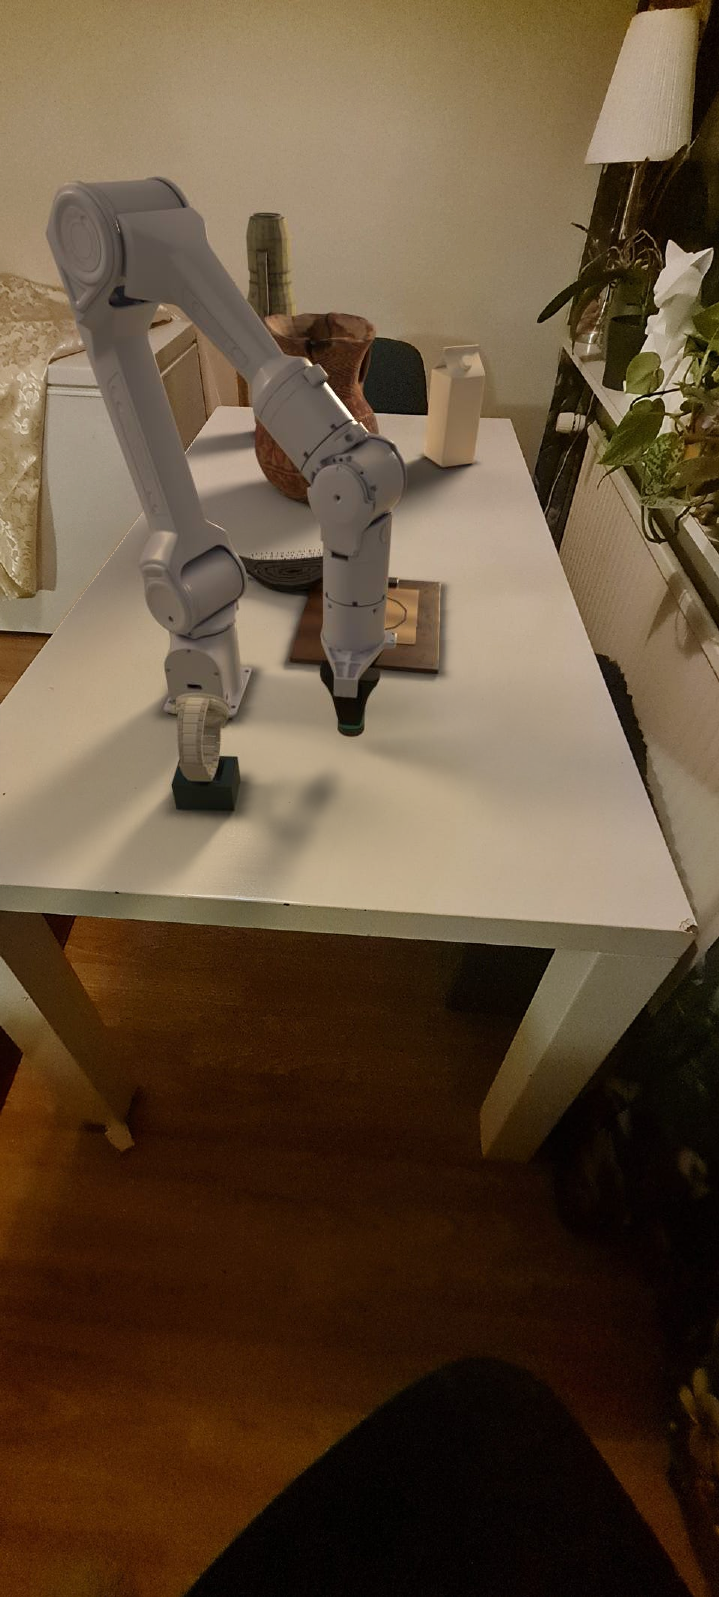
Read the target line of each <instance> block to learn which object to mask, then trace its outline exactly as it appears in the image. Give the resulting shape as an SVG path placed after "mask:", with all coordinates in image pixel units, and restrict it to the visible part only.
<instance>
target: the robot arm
mask: <svg viewBox="0 0 719 1597" xmlns="http://www.w3.org/2000/svg"><path fill="white" fill-rule="evenodd" d="M52 200H53V201H52V204H51V207H50V213H49V217H48V221H47V226H46V229H45V237H46V241H47V243H48V245H49V248H50V251H51V254H52V257H53V260H54V262H55V266H56V268H57V270H58V274H59V277H60V279H61V282H62V285H63V287H64V291H65V293H66V296H67V298H68V301H69V304H70V307H71V309H72V313H73V318H74V321H75V324H76V328H77V331H78V334H79V337H80V339H81V342H82V344H83V347H84V350H85V352H86V355H87V358H88V361H89V364H90V366H91V369H92V372H93V375H94V377H95V381H96V383H97V386H98V389H99V392H100V394H101V398H102V400H103V404H104V405H105V409H106V411H107V414H108V416H109V419H110V423H111V425H112V428H113V430H114V433H115V436H116V438H117V441H118V444H119V447H120V449H121V452H122V455H123V458H124V461H125V463H126V467H127V469H128V472H129V475H130V478H131V480H132V483H133V486H134V488H135V491H136V494H137V497H138V499H139V502H140V505H141V508H142V510H143V513H144V516H145V519H146V521H147V524H148V528H149V530H150V535H149V537H148V538H149V539H148V541H147V543H146V545H145V546H144V549H143V552H142V554H141V556H140V559H139V561H138V567H139V570H140V573H141V576H142V579H143V583H144V584H143V585H144V586H143V589H144V590H143V592H144V593H143V594H144V600H145V602H146V606H147V609H148V610H149V613H150V614H151V616H152V617H153V619H154V620H156V622H157V623H158V624H159V625H160V626H161V627H162V628H164V629H166V630H167V631H168V636H169V646H168V647H169V648H168V651H167V654H166V656H165V659H164V664H163V668H164V674H165V679H166V685H167V690H168V695H169V696H168V698H167V699H166V702H165V704H164V706H163V711H164V713H167V714H168V713H169V714H172V713H171V706H172V705H176V699H177V697H179V696H180V695H183V694H187V693H205V694H211V695H215V696H218V697H220V698H222V699H224V700H226V701H227V702H228V703H229V704H230V711H229V717H228V719H233V718H235V717H236V716H237V714H238V711H239V708H240V706H241V703H242V700H243V697H244V694H245V692H246V688H247V687H248V682H249V681H250V677H251V675H252V672H253V669H252V667H251V666H246V665H245V666H243V665H242V664H241V655H240V644H239V635H238V634H239V633H238V625H237V616H236V614H237V612H238V611H239V610H240V606H239V599H241V598H242V597H243V596H244V595H245V593H246V592H247V588H248V583H249V581H248V574H247V573H246V570H245V567H244V565H243V563H242V561H241V559H240V558H239V557H238V553H237V552H236V551H235V549H234V547H233V545H232V542H231V538H230V536H229V533H228V531H227V530H226V529H224V528H223V527H220V526H219V525H216V524H215V523H212V522H211V521H210V520H208V519H206V515H205V512H204V510H203V505H202V503H201V499H200V497H199V493H198V490H197V487H196V483H195V481H194V477H193V474H192V471H191V467H190V464H189V461H188V458H187V456H186V452H185V449H184V445H183V442H182V439H181V436H180V432H179V429H178V425H177V423H176V420H175V417H174V413H173V411H172V407H171V404H170V401H169V398H168V394H167V392H166V391H167V390H166V388H165V384H164V382H163V378H162V375H161V372H160V368H159V365H158V362H157V359H156V356H155V352H154V349H153V346H152V343H151V340H150V336H149V331H150V328H151V326H152V323H153V321H154V319H155V316H156V314H157V311H158V309H159V306H160V305H161V304H166V305H173V306H176V307H177V308H179V309H180V310H181V312H182V313H183V314H184V315H185V316H186V318H188V319H189V321H191V323H192V324H193V325H194V326H195V327H196V328H197V329H198V330H199V331H200V333H201V334H202V335H203V336H204V337H205V338H206V339H207V340H208V341H209V342H210V343H211V345H212V346H213V347H214V348H215V349H216V350H217V351H218V352H219V353H220V355H222V356H223V358H224V359H225V360H226V361H227V362H228V363H229V364H230V366H232V368H234V370H235V371H236V372H237V373H238V374H239V375H240V376H241V377H242V379H244V381H245V382H246V384H248V385H249V386H250V387H251V392H252V393H251V396H252V397H251V398H252V412H253V416H254V415H255V416H256V417H257V419H258V420H259V421H260V422H261V424H262V425H263V426H264V427H265V429H266V430H267V431H268V432H269V434H270V435H271V436H272V437H273V439H274V440H275V441H276V442H277V444H278V445H279V446H280V447H281V448H282V450H283V451H284V452H285V453H286V455H287V456H288V457H289V458H290V460H291V461H292V462H293V463H294V465H295V466H296V467H297V468H298V470H299V471H300V472H301V473H302V474H303V476H304V477H305V478H306V479H307V481H308V482H309V483H310V484H311V485H312V486H310V487H311V488H310V487H308V488H307V495H308V500H309V502H308V504H309V507H310V509H311V511H312V513H313V515H314V517H315V518H316V520H317V522H318V524H319V530H320V533H319V534H320V538H319V539H320V541H321V542H322V553H323V554H322V556H323V629H322V632H321V643H322V646H323V648H324V651H325V653H326V656H327V658H328V661H327V660H322V662H321V664H320V666H319V678H320V680H321V682H322V683H323V685H324V686H325V688H326V689H327V691H328V693H329V694H330V696H331V699H332V700H331V701H332V702H333V706H334V710H335V716H336V718H337V723H338V722H339V724H340V725H349V726H359V725H360V723H361V721H362V718H363V714H364V710H365V711H366V707H367V703H368V699H369V698H370V695H371V694H372V692H373V691H374V689H376V687H377V685H378V684H379V681H380V679H381V674H382V669H379V668H374V666H375V664H376V662H377V660H378V658H379V656H380V655H381V653H382V652H383V650H384V649H394V648H395V647H396V642H397V634H396V633H395V632H390V631H386V630H385V620H386V604H387V592H388V577H390V563H391V562H390V560H391V546H392V545H391V544H392V527H393V525H392V524H393V512H392V511H390V510H391V509H393V508H394V507H395V506H396V505H397V504H398V503H400V501H401V499H402V498H403V497H404V495H405V492H406V490H407V485H408V472H407V466H406V463H405V461H404V458H403V457H402V454H401V453H400V452H399V449H398V448H397V445H396V444H395V442H394V441H393V440H391V439H389V438H388V437H386V436H384V435H382V434H379V435H378V434H372V433H370V432H369V431H367V429H366V428H365V427H364V426H363V425H362V424H361V423H360V422H359V423H357V421H355V419H354V418H353V416H352V415H351V414H350V412H349V411H348V410H347V409H346V407H345V406H344V405H343V403H342V402H341V401H340V400H339V398H338V397H337V396H336V395H335V393H334V392H333V391H332V389H331V388H330V387H329V386H328V384H327V383H326V381H327V379H328V375H327V374H326V373H325V371H324V370H323V369H322V368H321V366H320V365H319V364H316V365H312V364H311V362H310V361H309V360H308V359H307V358H305V357H297V356H289V355H285V354H284V353H283V352H282V350H281V349H280V347H279V346H278V345H277V343H276V342H275V340H274V339H273V337H272V336H271V334H270V333H269V331H268V330H267V329H266V327H265V326H264V324H263V323H262V321H261V320H260V318H259V317H258V315H257V314H256V312H255V311H254V310H253V308H252V307H251V305H250V304H249V302H248V301H247V298H246V297H245V295H244V293H243V291H242V290H241V289H240V288H239V286H238V285H237V283H236V282H235V281H234V279H233V278H232V276H231V275H230V273H229V271H228V270H227V268H226V267H225V266H224V264H223V263H222V261H221V260H220V259H219V257H218V256H217V254H216V252H215V251H214V250H213V248H212V247H211V245H210V243H209V236H208V230H207V229H208V228H207V223H206V220H205V218H204V217H203V216H202V215H201V214H200V212H198V211H197V210H196V209H195V208H194V207H193V206H191V203H190V202H189V200H188V198H187V197H186V195H185V194H184V192H183V191H182V189H181V188H180V187H179V186H178V185H177V184H176V183H175V182H173V181H172V180H171V179H169V178H167V177H164V176H156V175H155V176H150V177H146V178H145V179H134V180H132V179H131V180H118V181H103V182H102V181H101V182H100V181H99V182H85V181H84V182H83V181H80V180H69V181H67V182H64V183H63V184H61V185H60V186H59V187H58V189H56V192H55V194H54V198H53V199H52Z"/></svg>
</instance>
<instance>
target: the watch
mask: <svg viewBox="0 0 719 1597" xmlns="http://www.w3.org/2000/svg"><path fill="white" fill-rule="evenodd" d="M229 711H230V704H229V703H228V702H227V701H226V700H224V699H222V698H220V697H218V696H215V695H211V694H205V693H187V694H183V695H180V696H179V697H177V699H176V705H172V706H171V713H170V714H172V715H173V714H174V715H176V716H177V721H176V722H177V723H176V724H177V725H176V730H177V733H176V734H177V751H178V761H177V766H176V768H175V771H174V775H173V778H172V781H171V790H172V796H173V800H174V805H175V809H176V810H196V811H197V810H198V811H227V812H235V809H236V804H237V799H238V795H239V789H240V786H241V772H240V764H239V756H237V755H233V756H232V755H220V754H221V746H222V743H221V742H222V729H225V727H226V723H227V722H228V719H229V718H228V717H229Z"/></svg>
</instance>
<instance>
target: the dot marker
mask: <svg viewBox="0 0 719 1597" xmlns="http://www.w3.org/2000/svg"><path fill="white" fill-rule="evenodd" d="M365 722H366V709H365V710H364V714H363V718H362V721H361V723H360V725H359V726H349V725H340V724H339V722H338V721H337V726H336V727H337V728H336V729H337V731H338V733H339V734H340V735H342V736H344V737H347V738H355V737H359V736H361V735H362V734H363V733H364V731H365V724H366V723H365Z"/></svg>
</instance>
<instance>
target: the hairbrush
mask: <svg viewBox="0 0 719 1597" xmlns="http://www.w3.org/2000/svg"><path fill="white" fill-rule="evenodd" d="M311 551H312V550H311V549H309V550H308V555H306V557H305V556H304V553H305V550H303V553H302V550H299V553H301V555H300V557H299V554H298V553H297V554H296V556H294V554H295V551H293V554H291V557H290V556H289V554H290V553H289V551H287V554H286V557H284V554H283V552H280V554H281V555H280V558H278V556H279V552H277V554H276V555H275V558H274V555H273V552H270V554H271V555H269V558H270V559H268V558H267V556H262V557H260V559H254V558H252V557H254V554H253V553H252V554H251V556H248V557H247V556H243V555H240V554H239V555H238V554H237V555H238V557H239V558H240V559H241V561H242V563H243V565H244V567H245V570H246V573H247V575H248V576H250V577H251V578H253V579H254V580H255V581H256V582H258V583H259V584H261V585H262V586H265V587H268V588H271V589H274V590H275V591H276V590H277V591H289V592H294V591H300V590H305V589H306V590H307V589H310V588H311V587H313V586H316V585H318V584H320V583H322V582H323V552H322V553H321V552H320V551H321V549H320V548H319V549H318V552H317V555H316V554H315V552H316V550H315V549H314V550H313V552H311ZM266 554H268V551H266ZM255 555H256V556H257V555H258V553H257V552H256V553H255ZM260 555H263V552H261V553H260ZM293 556H294V557H293ZM287 557H288V558H287ZM292 557H293V558H292Z"/></svg>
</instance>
